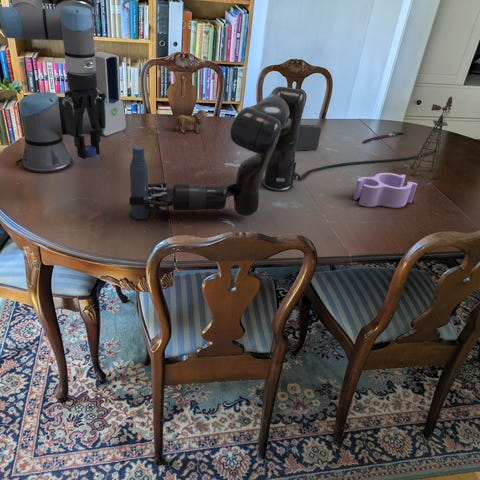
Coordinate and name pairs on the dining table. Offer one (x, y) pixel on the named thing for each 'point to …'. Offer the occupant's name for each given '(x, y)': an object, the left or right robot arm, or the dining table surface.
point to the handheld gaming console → (308, 137)
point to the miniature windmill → (439, 123)
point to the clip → (384, 190)
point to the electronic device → (110, 91)
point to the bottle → (139, 181)
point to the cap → (90, 151)
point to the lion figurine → (191, 120)
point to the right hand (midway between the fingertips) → (130, 196)
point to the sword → (382, 136)
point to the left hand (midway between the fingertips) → (88, 155)
